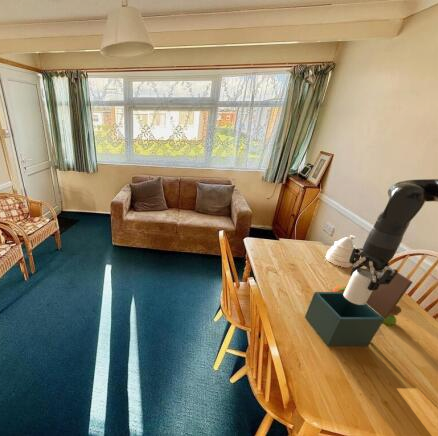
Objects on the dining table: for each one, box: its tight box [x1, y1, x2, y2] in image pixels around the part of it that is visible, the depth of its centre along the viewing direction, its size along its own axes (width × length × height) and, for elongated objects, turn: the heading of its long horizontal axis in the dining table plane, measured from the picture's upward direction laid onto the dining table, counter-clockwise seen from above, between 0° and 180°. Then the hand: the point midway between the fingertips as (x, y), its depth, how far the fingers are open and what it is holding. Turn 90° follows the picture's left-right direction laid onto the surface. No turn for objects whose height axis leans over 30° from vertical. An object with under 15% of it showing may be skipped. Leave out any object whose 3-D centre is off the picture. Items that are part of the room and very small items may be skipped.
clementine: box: [333, 285, 347, 292], centre depth 110 cm, size 8×7×7 cm
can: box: [343, 267, 378, 305], centre depth 82 cm, size 6×6×12 cm
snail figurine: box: [379, 304, 402, 326], centre depth 96 cm, size 5×6×12 cm
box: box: [304, 291, 384, 347], centre depth 92 cm, size 16×14×14 cm
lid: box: [365, 267, 413, 318], centre depth 85 cm, size 17×14×1 cm
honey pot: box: [325, 234, 357, 268], centre depth 136 cm, size 13×13×18 cm
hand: (362, 282), depth 81 cm, fingers closed on can, 6 cm apart
